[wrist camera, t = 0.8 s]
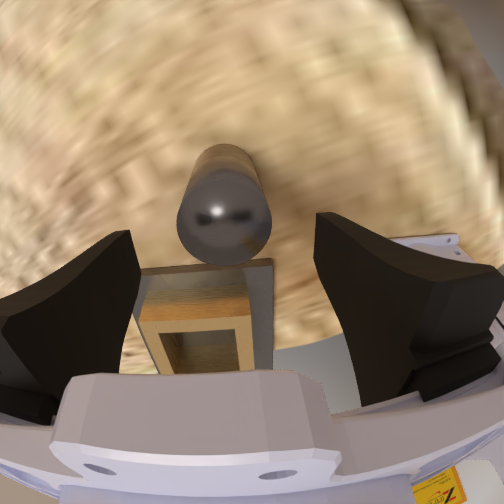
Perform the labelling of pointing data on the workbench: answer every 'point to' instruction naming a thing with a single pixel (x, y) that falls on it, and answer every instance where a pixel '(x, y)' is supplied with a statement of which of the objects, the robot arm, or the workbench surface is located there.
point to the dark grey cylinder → (224, 208)
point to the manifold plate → (207, 317)
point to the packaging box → (441, 489)
